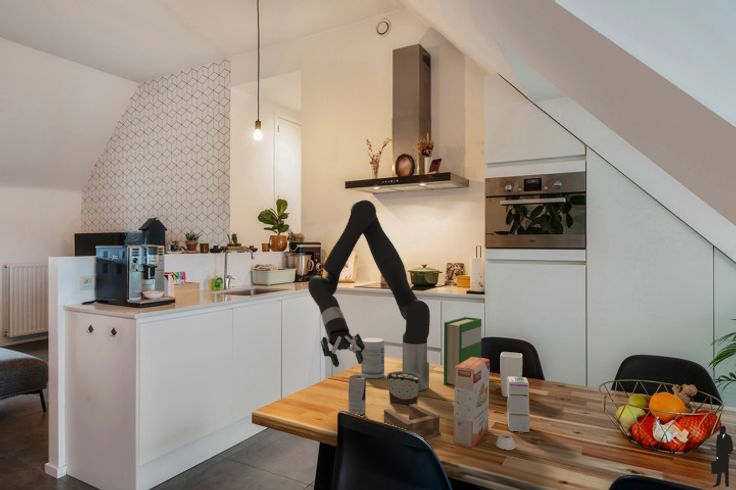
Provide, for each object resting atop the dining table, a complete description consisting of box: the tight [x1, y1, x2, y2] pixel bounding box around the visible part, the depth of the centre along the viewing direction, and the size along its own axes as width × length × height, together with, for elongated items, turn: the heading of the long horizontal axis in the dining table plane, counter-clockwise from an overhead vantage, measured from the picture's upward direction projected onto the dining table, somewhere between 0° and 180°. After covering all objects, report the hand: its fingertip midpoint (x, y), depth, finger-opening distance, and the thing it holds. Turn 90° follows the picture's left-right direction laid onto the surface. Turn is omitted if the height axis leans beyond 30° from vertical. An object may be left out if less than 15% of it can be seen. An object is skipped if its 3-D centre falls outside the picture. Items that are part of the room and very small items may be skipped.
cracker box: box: [452, 357, 491, 448], centre depth 124 cm, size 14×6×21 cm, turn 148°
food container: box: [385, 370, 422, 408], centre depth 151 cm, size 12×6×10 cm, turn 65°
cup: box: [499, 351, 523, 398], centre depth 159 cm, size 7×7×15 cm
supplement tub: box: [360, 337, 385, 379], centre depth 183 cm, size 10×10×15 cm
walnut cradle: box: [383, 404, 442, 440], centre depth 128 cm, size 12×12×5 cm
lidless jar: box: [495, 433, 517, 451], centre depth 119 cm, size 5×3×5 cm
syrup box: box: [506, 376, 530, 433], centre depth 131 cm, size 6×6×14 cm
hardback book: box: [443, 316, 482, 386], centre depth 176 cm, size 18×7×24 cm, turn 142°
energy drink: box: [347, 374, 367, 418], centre depth 139 cm, size 5×5×12 cm
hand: (349, 364), depth 144 cm, fingers open, 8 cm apart
